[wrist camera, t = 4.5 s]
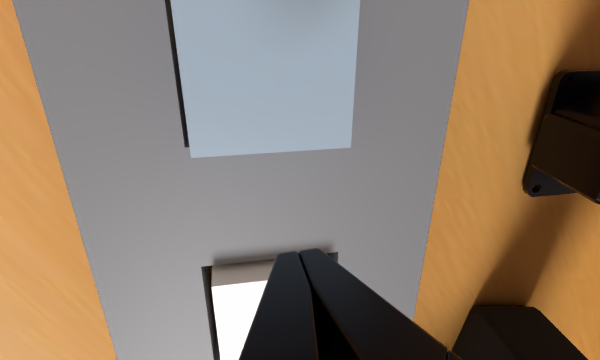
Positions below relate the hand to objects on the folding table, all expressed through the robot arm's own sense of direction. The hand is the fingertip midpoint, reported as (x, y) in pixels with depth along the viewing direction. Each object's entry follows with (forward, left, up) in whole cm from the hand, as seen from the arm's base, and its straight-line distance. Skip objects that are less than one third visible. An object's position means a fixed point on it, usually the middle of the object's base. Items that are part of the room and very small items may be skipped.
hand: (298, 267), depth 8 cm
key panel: (0, +2, -10) cm, 10 cm away
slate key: (0, -3, -7) cm, 8 cm away
